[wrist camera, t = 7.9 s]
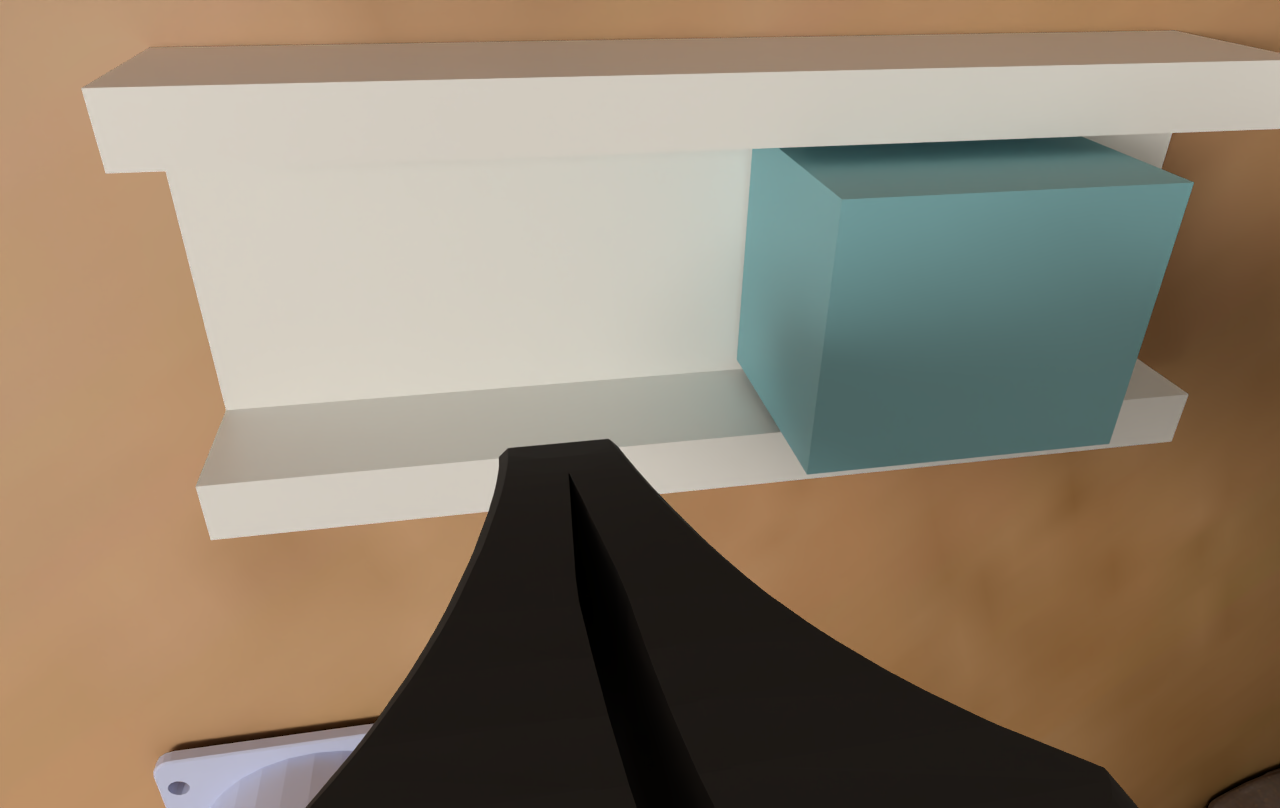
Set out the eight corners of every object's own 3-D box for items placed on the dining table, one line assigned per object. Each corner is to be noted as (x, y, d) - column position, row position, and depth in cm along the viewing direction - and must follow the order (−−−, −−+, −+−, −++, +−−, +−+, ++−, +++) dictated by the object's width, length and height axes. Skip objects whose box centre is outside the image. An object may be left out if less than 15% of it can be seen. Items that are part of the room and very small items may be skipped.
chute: (245, 439, 20) (210, 539, 17) (149, 47, 16) (81, 87, 13) (1077, 368, 23) (1171, 441, 20) (1174, 29, 19) (1310, 59, 16)
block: (736, 359, 20) (807, 474, 16) (754, 128, 17) (842, 199, 14) (987, 339, 21) (1109, 444, 17) (1037, 118, 18) (1193, 182, 15)
